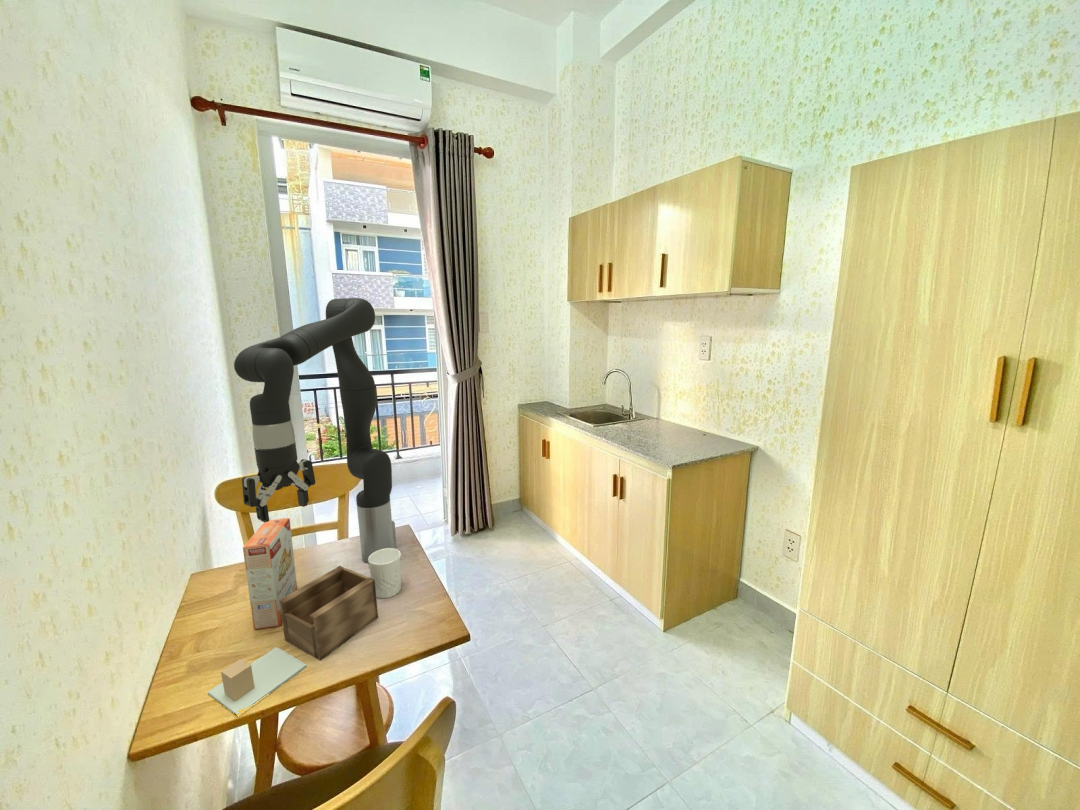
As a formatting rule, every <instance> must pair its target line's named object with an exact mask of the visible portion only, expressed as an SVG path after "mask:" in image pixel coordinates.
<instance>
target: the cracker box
mask: <svg viewBox="0 0 1080 810" xmlns="http://www.w3.org/2000/svg"><path fill="white" fill-rule="evenodd" d="M293 547H294V546H293V537H292V528H291V519H290V518H289V517H288V518H287V517H286V518H285V517H284V518H278V519H277V518H275V519H269V521H268V522H266V523H265V522H263V523H262V524H261V525H260V527H259V528H257V529H256V531H255V532H254V533H253V535H252V536H251V537H250V538H249V539H248V540H247V542H246V543H245V544H244V545H242V551H243V552H242V553H243V558H244V567H245V574H246V580H247V588H248V589H247V590H248V594H249V595H248V596H249V602H250V603H249V604H250V610H251V617H252V624H253V630H260V629H267V628H274V627H280V626H281V625H282V617H281V610H280V602H279V600H280V599H282V598H284V597H285V596H287V595H289V594H291V593H292V592H294V591H296V590H298V582H297V574H296V565H295V556H294V548H293Z"/></svg>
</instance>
